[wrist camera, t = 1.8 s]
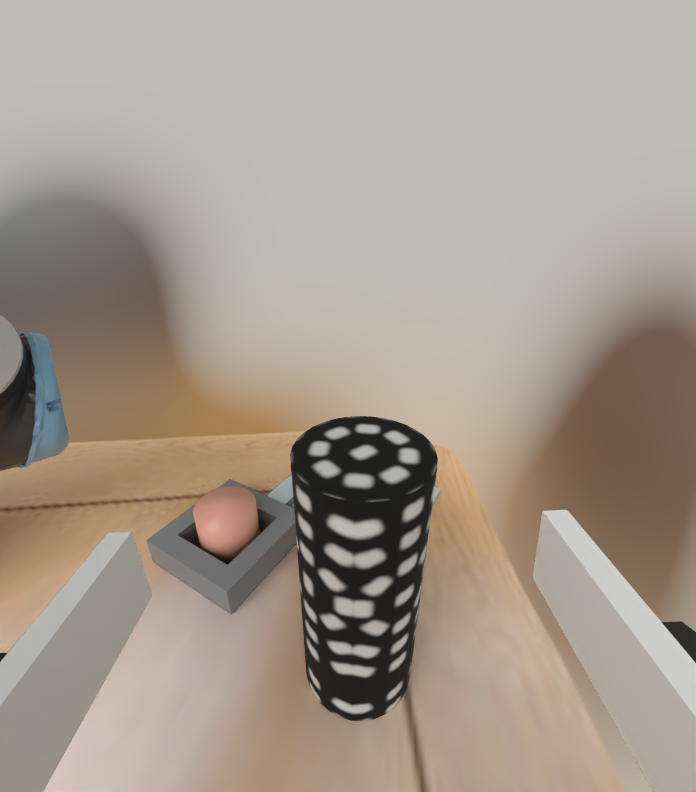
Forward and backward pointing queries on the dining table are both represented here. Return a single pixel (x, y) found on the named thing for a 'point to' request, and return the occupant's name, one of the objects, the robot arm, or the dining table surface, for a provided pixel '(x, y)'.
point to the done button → (226, 521)
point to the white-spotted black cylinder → (361, 557)
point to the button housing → (212, 575)
